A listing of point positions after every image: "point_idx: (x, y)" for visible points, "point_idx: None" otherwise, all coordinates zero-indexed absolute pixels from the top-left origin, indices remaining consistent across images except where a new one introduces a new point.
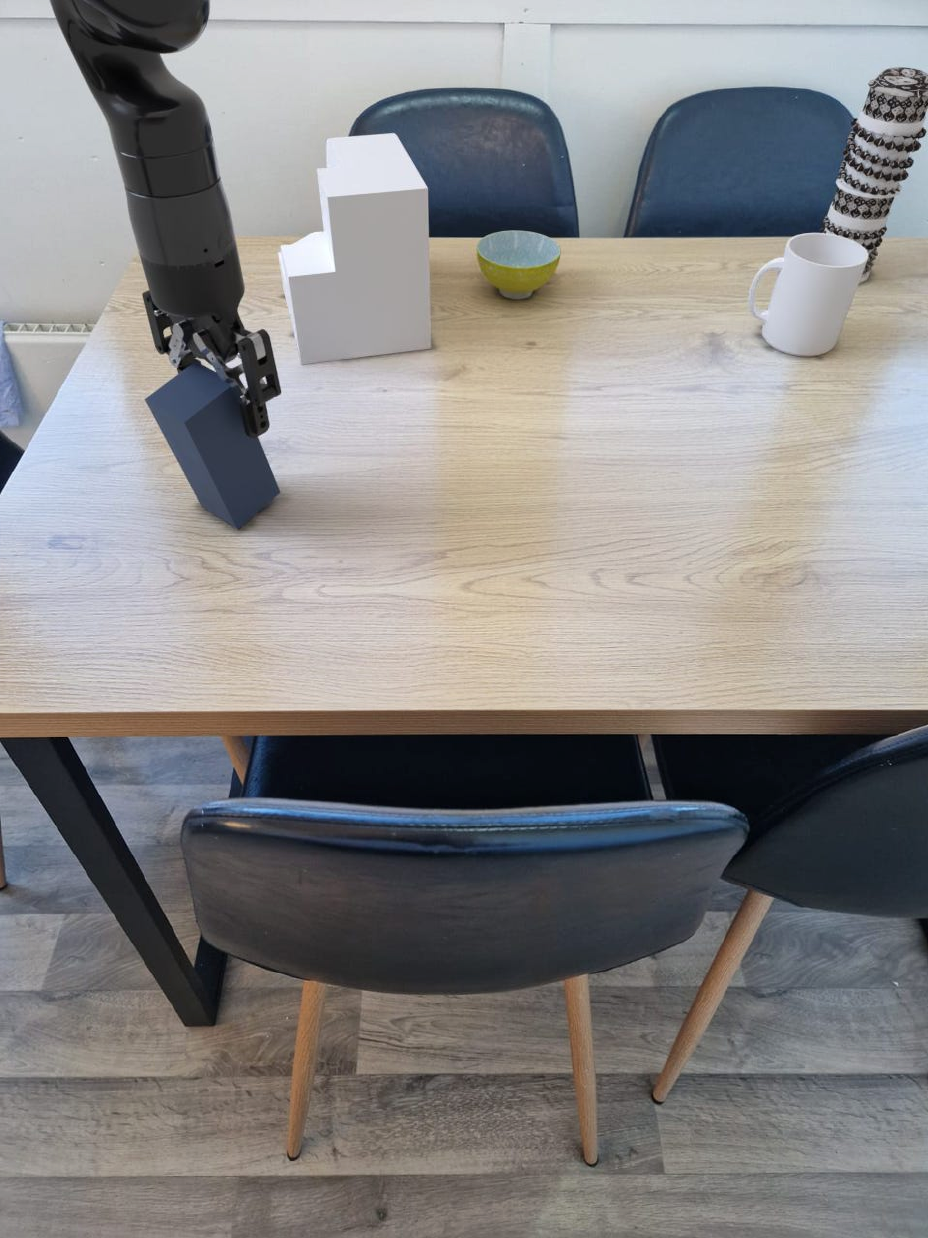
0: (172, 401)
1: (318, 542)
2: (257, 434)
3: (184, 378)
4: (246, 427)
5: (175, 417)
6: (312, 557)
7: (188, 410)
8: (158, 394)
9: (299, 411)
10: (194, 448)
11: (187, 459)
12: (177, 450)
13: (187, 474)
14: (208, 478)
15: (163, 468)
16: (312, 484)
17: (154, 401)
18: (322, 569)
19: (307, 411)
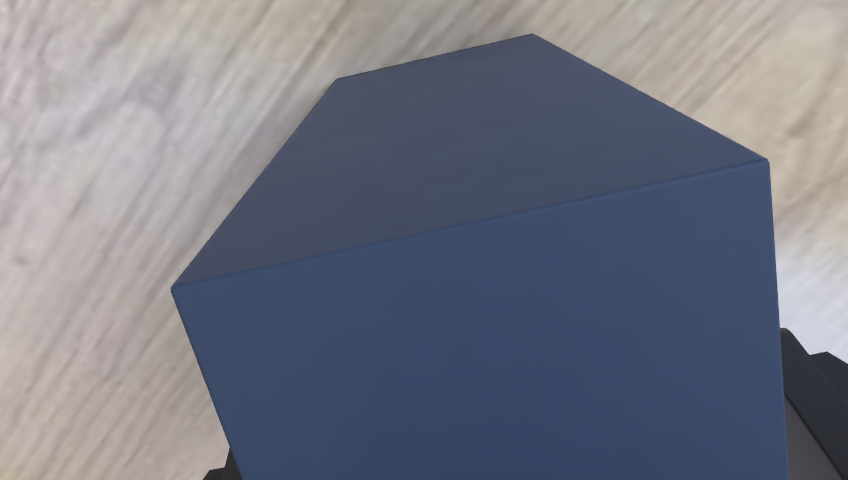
0: (510, 336)
1: (138, 251)
2: (206, 474)
3: None
4: (239, 475)
5: (289, 261)
6: (77, 206)
7: (290, 382)
8: (709, 287)
9: None
10: (283, 180)
11: (459, 103)
12: (534, 93)
13: (534, 59)
14: (332, 121)
15: (839, 17)
16: None
17: (653, 217)
18: (8, 204)
19: None
